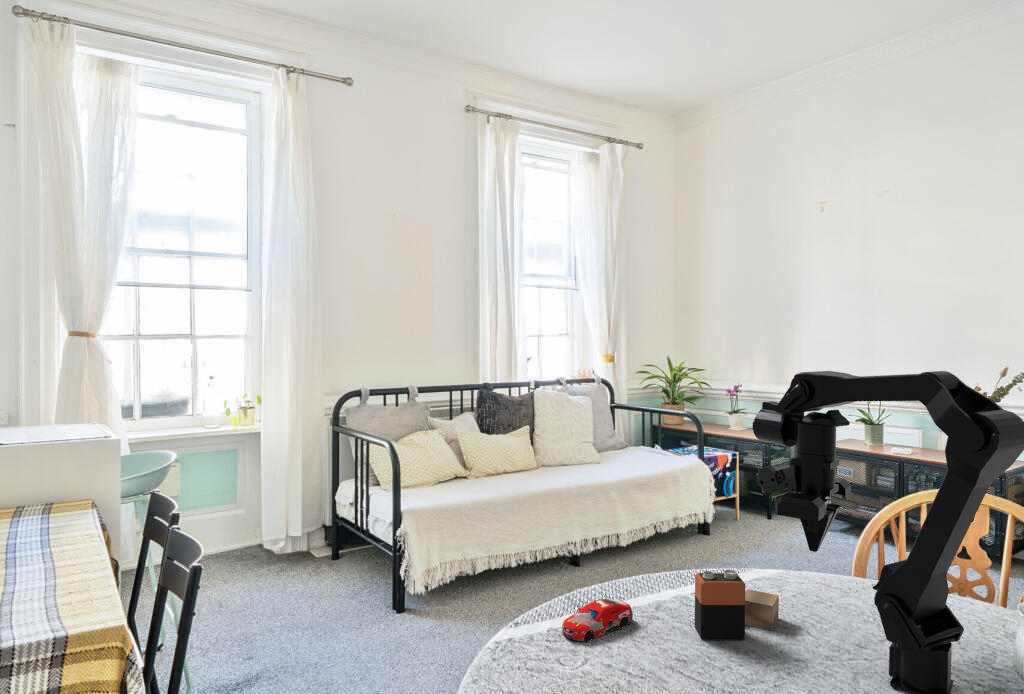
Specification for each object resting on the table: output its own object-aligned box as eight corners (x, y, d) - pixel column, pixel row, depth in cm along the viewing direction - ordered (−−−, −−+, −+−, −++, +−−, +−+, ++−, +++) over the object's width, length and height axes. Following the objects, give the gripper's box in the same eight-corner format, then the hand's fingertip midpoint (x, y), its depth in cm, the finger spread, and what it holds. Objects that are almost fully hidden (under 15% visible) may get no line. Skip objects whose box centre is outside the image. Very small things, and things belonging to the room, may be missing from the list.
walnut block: (778, 619, 113) (778, 595, 112) (772, 631, 108) (772, 606, 108) (747, 612, 115) (747, 589, 115) (739, 623, 111) (740, 599, 111)
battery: (745, 641, 105) (746, 577, 104) (701, 641, 105) (701, 577, 104) (736, 628, 109) (737, 566, 108) (693, 628, 109) (694, 566, 109)
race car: (577, 648, 103) (577, 622, 103) (554, 635, 108) (554, 610, 107) (638, 624, 111) (638, 600, 111) (614, 613, 115) (614, 589, 115)
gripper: (782, 437, 118) (781, 526, 119) (741, 454, 104) (740, 555, 105) (852, 445, 111) (850, 540, 112) (818, 464, 97) (816, 572, 98)
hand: (813, 550), depth 107 cm, fingers closed
